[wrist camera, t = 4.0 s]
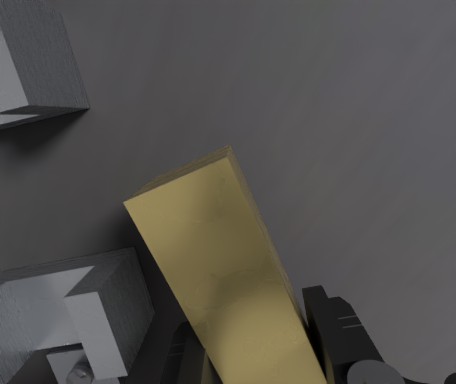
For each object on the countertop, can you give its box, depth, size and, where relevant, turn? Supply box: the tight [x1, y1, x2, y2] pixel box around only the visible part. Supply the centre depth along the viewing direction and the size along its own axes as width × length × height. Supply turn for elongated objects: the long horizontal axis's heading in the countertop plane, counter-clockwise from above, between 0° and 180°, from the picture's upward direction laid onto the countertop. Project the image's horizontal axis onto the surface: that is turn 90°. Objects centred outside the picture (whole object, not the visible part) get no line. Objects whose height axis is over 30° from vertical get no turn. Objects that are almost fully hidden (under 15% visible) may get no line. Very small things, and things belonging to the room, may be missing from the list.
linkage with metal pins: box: [0, 0, 155, 384], centre depth 13 cm, size 7×21×4 cm, turn 12°
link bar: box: [123, 144, 327, 384], centre depth 10 cm, size 3×13×3 cm, turn 24°
